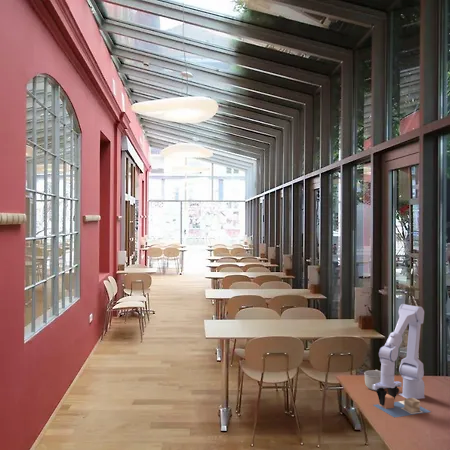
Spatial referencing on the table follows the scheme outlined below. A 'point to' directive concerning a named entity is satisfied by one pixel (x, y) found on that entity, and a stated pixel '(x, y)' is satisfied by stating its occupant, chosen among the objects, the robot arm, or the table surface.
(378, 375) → the teacup
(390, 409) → the board
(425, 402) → the table surface
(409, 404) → the maple cube
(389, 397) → the terracotta cube
